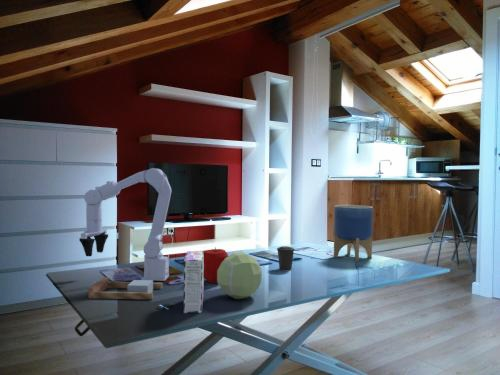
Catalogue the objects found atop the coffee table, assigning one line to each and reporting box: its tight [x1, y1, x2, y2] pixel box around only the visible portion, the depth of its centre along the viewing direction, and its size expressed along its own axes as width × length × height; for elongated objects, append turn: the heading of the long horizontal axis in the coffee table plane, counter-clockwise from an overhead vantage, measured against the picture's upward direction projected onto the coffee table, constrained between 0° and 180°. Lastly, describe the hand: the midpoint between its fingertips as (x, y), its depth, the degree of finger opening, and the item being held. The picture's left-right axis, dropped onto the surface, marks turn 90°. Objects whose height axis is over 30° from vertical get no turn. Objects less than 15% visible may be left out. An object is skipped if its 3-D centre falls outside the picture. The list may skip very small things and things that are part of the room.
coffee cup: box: [276, 245, 295, 271], centre depth 178 cm, size 8×8×10 cm
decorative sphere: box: [217, 252, 263, 300], centre depth 137 cm, size 15×15×15 cm
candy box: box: [183, 250, 205, 314], centre depth 127 cm, size 14×6×16 cm, turn 5°
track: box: [88, 277, 163, 300], centre depth 140 cm, size 22×13×4 cm, turn 88°
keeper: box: [126, 279, 154, 293], centre depth 140 cm, size 7×7×4 cm
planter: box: [333, 204, 374, 263], centre depth 205 cm, size 19×19×26 cm
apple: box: [203, 247, 229, 284], centre depth 156 cm, size 11×10×14 cm
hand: (94, 254), depth 158 cm, fingers open, 7 cm apart
